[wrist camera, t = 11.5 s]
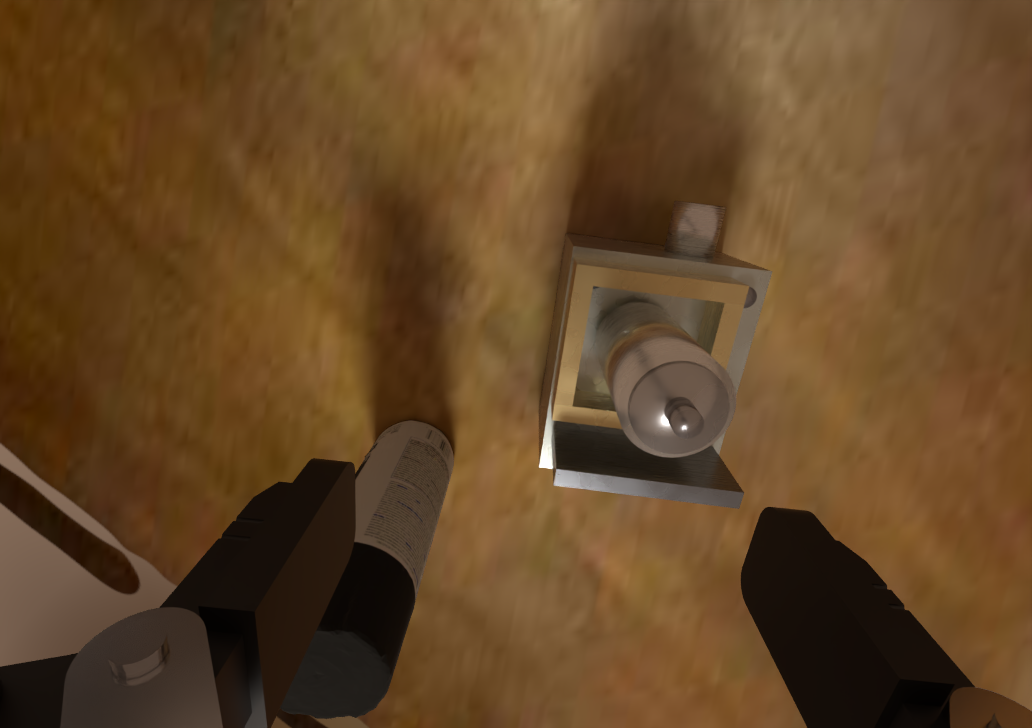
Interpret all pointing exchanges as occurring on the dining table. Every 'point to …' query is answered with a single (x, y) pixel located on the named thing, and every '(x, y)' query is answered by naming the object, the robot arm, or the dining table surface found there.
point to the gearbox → (577, 373)
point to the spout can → (662, 382)
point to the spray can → (376, 575)
